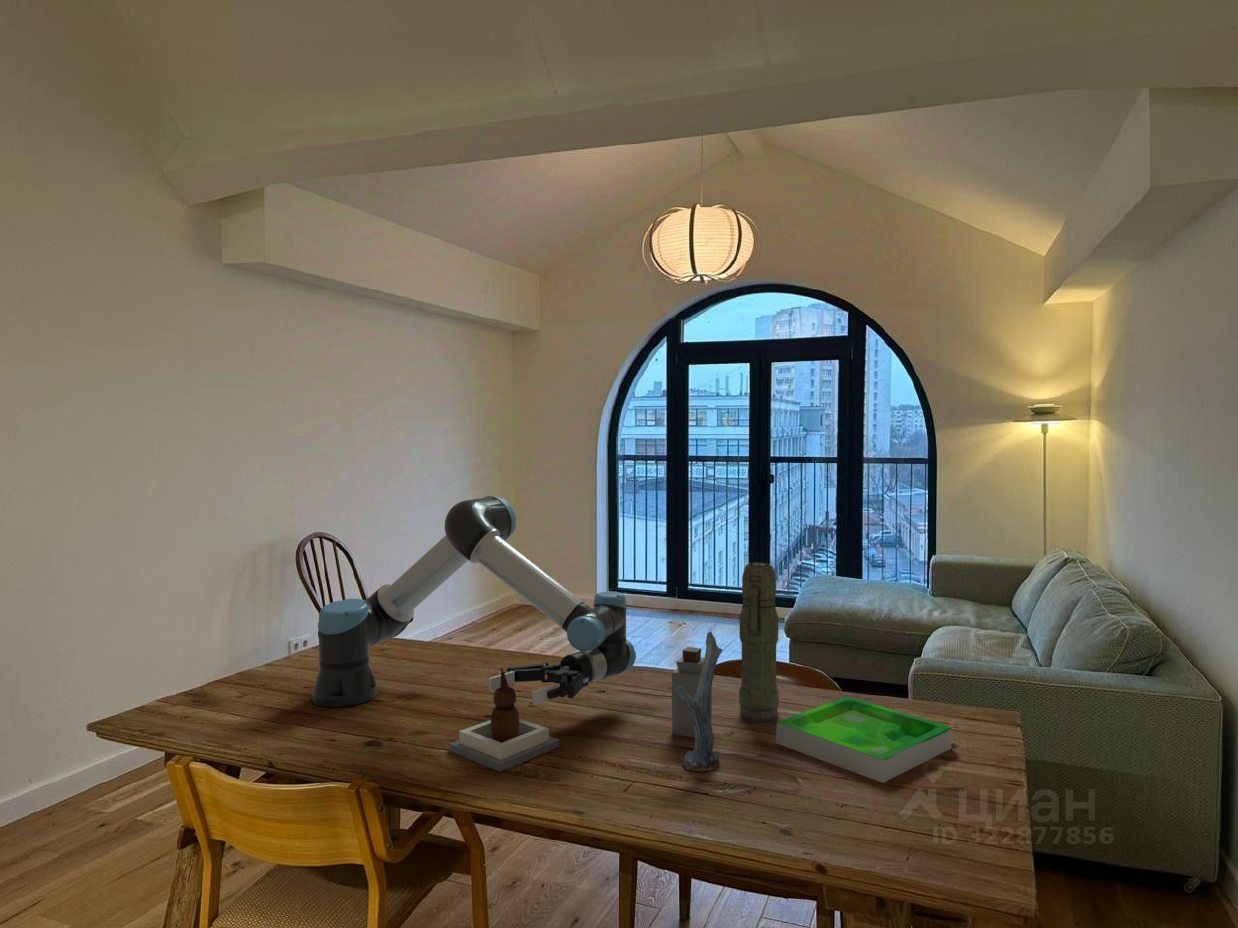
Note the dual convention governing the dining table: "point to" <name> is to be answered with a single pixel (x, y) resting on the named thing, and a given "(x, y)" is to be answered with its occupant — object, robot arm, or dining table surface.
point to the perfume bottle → (689, 680)
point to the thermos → (759, 643)
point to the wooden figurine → (504, 713)
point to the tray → (864, 737)
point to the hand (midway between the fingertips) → (511, 691)
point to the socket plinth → (503, 745)
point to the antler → (702, 712)
